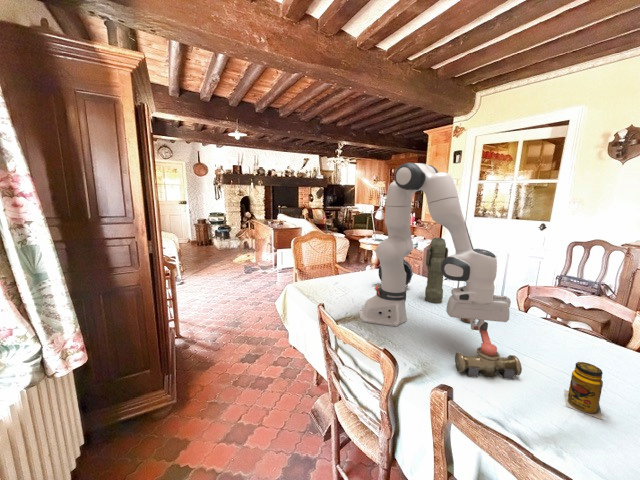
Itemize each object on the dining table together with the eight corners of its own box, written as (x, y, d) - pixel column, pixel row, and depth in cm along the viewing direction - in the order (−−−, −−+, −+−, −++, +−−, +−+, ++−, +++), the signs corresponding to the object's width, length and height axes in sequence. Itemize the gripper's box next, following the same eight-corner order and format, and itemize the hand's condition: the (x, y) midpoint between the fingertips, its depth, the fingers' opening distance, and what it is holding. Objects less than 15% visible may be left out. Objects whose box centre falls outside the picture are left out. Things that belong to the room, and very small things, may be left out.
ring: (413, 291, 162) (415, 259, 159) (380, 291, 162) (381, 259, 159) (407, 285, 173) (409, 255, 169) (376, 285, 173) (377, 255, 170)
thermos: (448, 302, 146) (453, 239, 140) (430, 304, 142) (435, 240, 137) (436, 296, 154) (441, 236, 148) (419, 298, 151) (423, 237, 145)
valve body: (461, 376, 86) (464, 356, 85) (453, 364, 93) (455, 345, 91) (520, 380, 85) (523, 360, 84) (508, 367, 91) (511, 348, 90)
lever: (481, 353, 86) (482, 341, 86) (475, 330, 101) (477, 320, 100) (497, 357, 85) (499, 345, 84) (489, 333, 99) (490, 322, 99)
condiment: (565, 406, 74) (572, 367, 72) (564, 390, 81) (570, 353, 79) (603, 420, 70) (611, 379, 68) (598, 402, 76) (606, 363, 74)
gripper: (507, 293, 98) (502, 328, 100) (447, 288, 102) (443, 322, 104) (515, 299, 92) (510, 337, 94) (451, 294, 96) (448, 330, 98)
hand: (475, 329), depth 99 cm, fingers closed
